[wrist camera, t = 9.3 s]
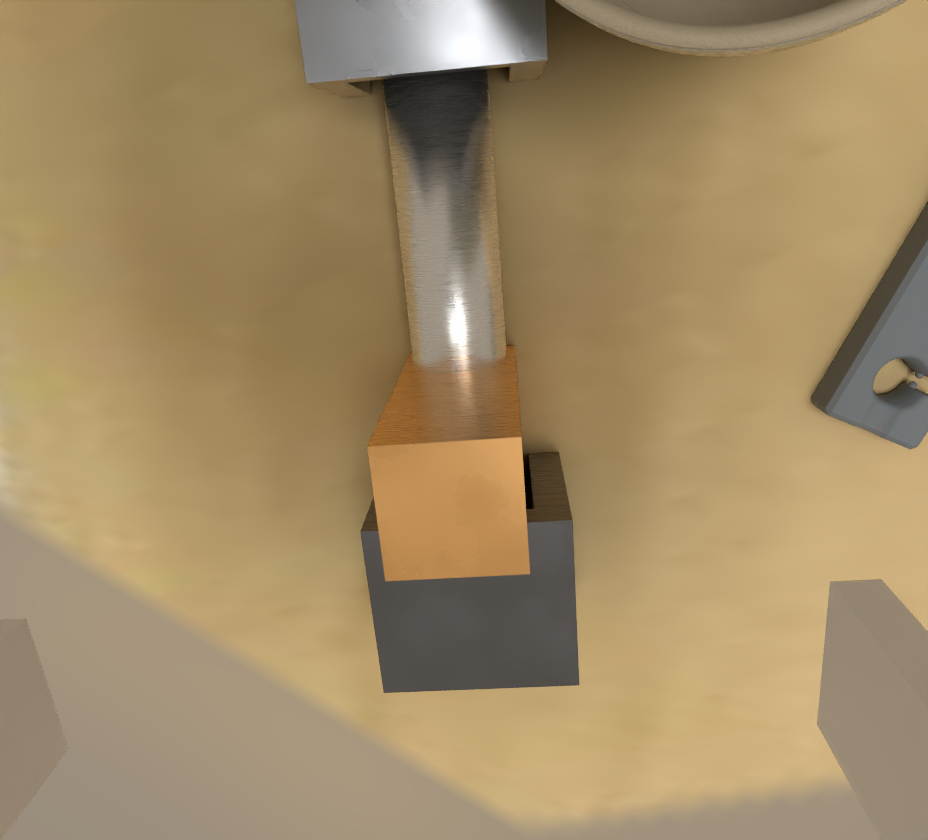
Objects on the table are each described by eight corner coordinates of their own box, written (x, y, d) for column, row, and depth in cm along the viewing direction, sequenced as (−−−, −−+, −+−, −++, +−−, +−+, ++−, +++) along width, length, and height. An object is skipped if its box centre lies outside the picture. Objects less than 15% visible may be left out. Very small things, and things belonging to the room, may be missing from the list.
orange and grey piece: (380, 77, 26) (309, 28, 16) (496, 65, 25) (494, 9, 16) (434, 562, 32) (405, 733, 22) (528, 558, 31) (540, 729, 22)
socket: (386, 462, 30) (360, 531, 25) (558, 452, 30) (572, 520, 24) (404, 600, 32) (383, 693, 27) (565, 592, 32) (579, 685, 26)
